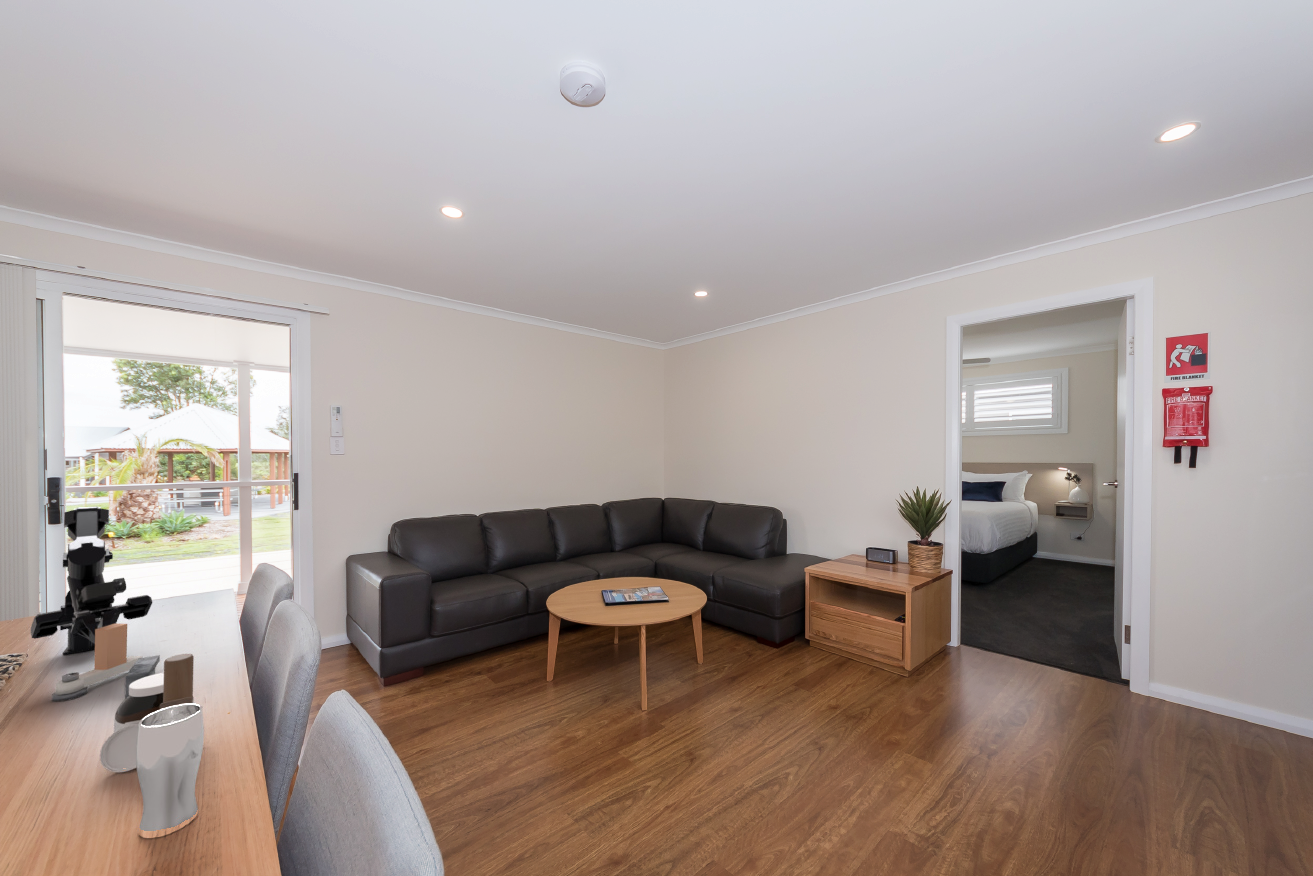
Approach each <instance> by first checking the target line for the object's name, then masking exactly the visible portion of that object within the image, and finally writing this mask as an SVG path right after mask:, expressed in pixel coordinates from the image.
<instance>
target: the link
mask: <svg viewBox="0 0 1313 876" xmlns="http://www.w3.org/2000/svg"><path fill="white" fill-rule="evenodd" d="M127 648H128V623H119V622H118V623H117V622H116V623H115V624H112V625H108V626H105V627H102V628H98V629H95V649H94V662H93V663H94V666H93V667H94V669H92V670H91V669H90V670H88V671H86V672H83V673H81V674H80V673H79V678H78V679H77V680H74V681H70V682H62V679H61V680H58V681H57V682H56V683H55V692H56V694H57V695H63V694H69V693H73V692H76V691H79V690H81V689H83V688H84V687H90V686H92V685H95V684H97V683H99V682H102V681H105V680H108V679H110V678H113V677H115V676H118V675H121V674H122V673H126V672H129V671H130V669H131V668H132V666H133V665H134V664H135V662H136V661H137V660H138V658H144V656H143V655H141V656H139V655H137V656H136V655H130V656H127V653H128V652H127V650H128V649H127Z"/></svg>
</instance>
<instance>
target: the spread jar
mask: <svg viewBox="0 0 1313 876" xmlns="http://www.w3.org/2000/svg"><path fill="white" fill-rule="evenodd" d="M163 689H164V672H160V673H155V675H151V676H147V677H144V678H141V679H139V680H136V681H134V682H133V683H131V684H130V685H129V696H128V697H127V698H126V699H125V698H124V700H123V701H122V702H121V703H120V705H119V706H118V708H117V709H116V712H115V714H114V719H113V720H114V722H113V733H111V735H110V736H108V737H107V738H106V740H105V741H104V743H103V744H102V746H101V749H100V753H99V761H100V763H101V766H102V767H103V768H104V769H106V770H107V771H110V772H113V773H124V772H129V771H132V770H135V769H137V768H136V745H137V737H138V730H139V722H140V720H141V719H143V718H144V717H145V716H147V715H149V714H151V713H153V712H156V711H158V710H160V704H161V703H163ZM193 704H195V698H194V697H193ZM123 768H126V769H123ZM124 770H125V771H124Z"/></svg>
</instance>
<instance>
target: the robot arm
mask: <svg viewBox="0 0 1313 876" xmlns="http://www.w3.org/2000/svg"><path fill="white" fill-rule="evenodd" d="M63 518H64V519H63V528H67V536H68V537H69V538H70V539H71V540H72V542H70V543H68V545H67V552H63V555H62V556H63V557H62V568H63V569H64V568H67V572H68V573H67V574H68V575H67V577H66V580H67V584H68V588H69V590H68V591H67V592H66V595H65V598H64V605H61V606H60V609H59V610H54V611H48V612H43V613H37V614H36V616H35V617H34V618H33V620H32V623H31V627H30V636H31V639H40V638H46V637H51V636H54V635H55V634H56V633H57V632H58V627H59V629H60V630H59V631H64V630H67V646H66V648H65V649H64V651H63V652H62V655H68V654H69V655H70V654H74V653H76V654H77V653H81V652H87V651H88V652H89V651H93V650H94V651H95V629H98V628H102V627H105V626H108V625H112V624H115V623H117V622H118V620H119V617H120V615H122V616H123V618H124V619H126V620H133V619H141V618H143V617H145V616H147V615H148V614H149V611H150V609H151V607H152V605H153V602H154V601H153V599H152V596H149V594H145V595H138V596H132V597H128V598H127V599H126V601H125V603H124V604H119V605H113V604H114V603H115V600H116V599H115V596H117V594H122V593H124V592H125V591H126V590H127V583H126V579H125V578H124V577H120V578H114V579H113V580H112V581H107V582H105V579H104V575H103V573H104V570H105V564H108V563H110V561H111V560H113V559H114V558H113V557H114V556H113V555H114V554H113V552H111V550H110V549H109V548H106V542H105V540H103V539H101V537H102V536H103V535H104V534H105V531H106V530H105V529H106V525H109V523H110V522H109V521H110V509H107V508H102V507H100V506H99V507H98V506H83V507H82V506H81V507H76V508H73V509H72V510H71V509H70V510H68V511H65V512H64V515H63Z"/></svg>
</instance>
